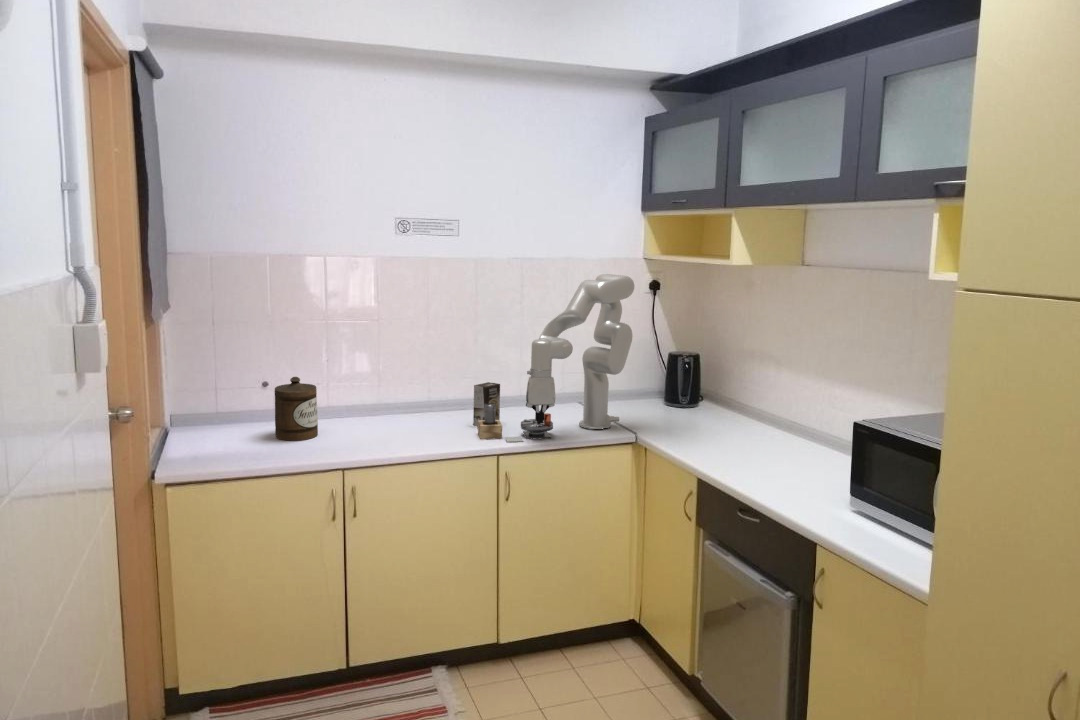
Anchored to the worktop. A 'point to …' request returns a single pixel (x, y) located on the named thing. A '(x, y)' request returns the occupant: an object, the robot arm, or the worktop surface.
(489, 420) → the dark grey rounded cylinder
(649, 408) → the worktop surface
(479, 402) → the coffee box
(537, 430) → the handwheel
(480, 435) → the eye block
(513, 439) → the mat
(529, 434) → the wheel pedestal
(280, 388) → the wooden container
